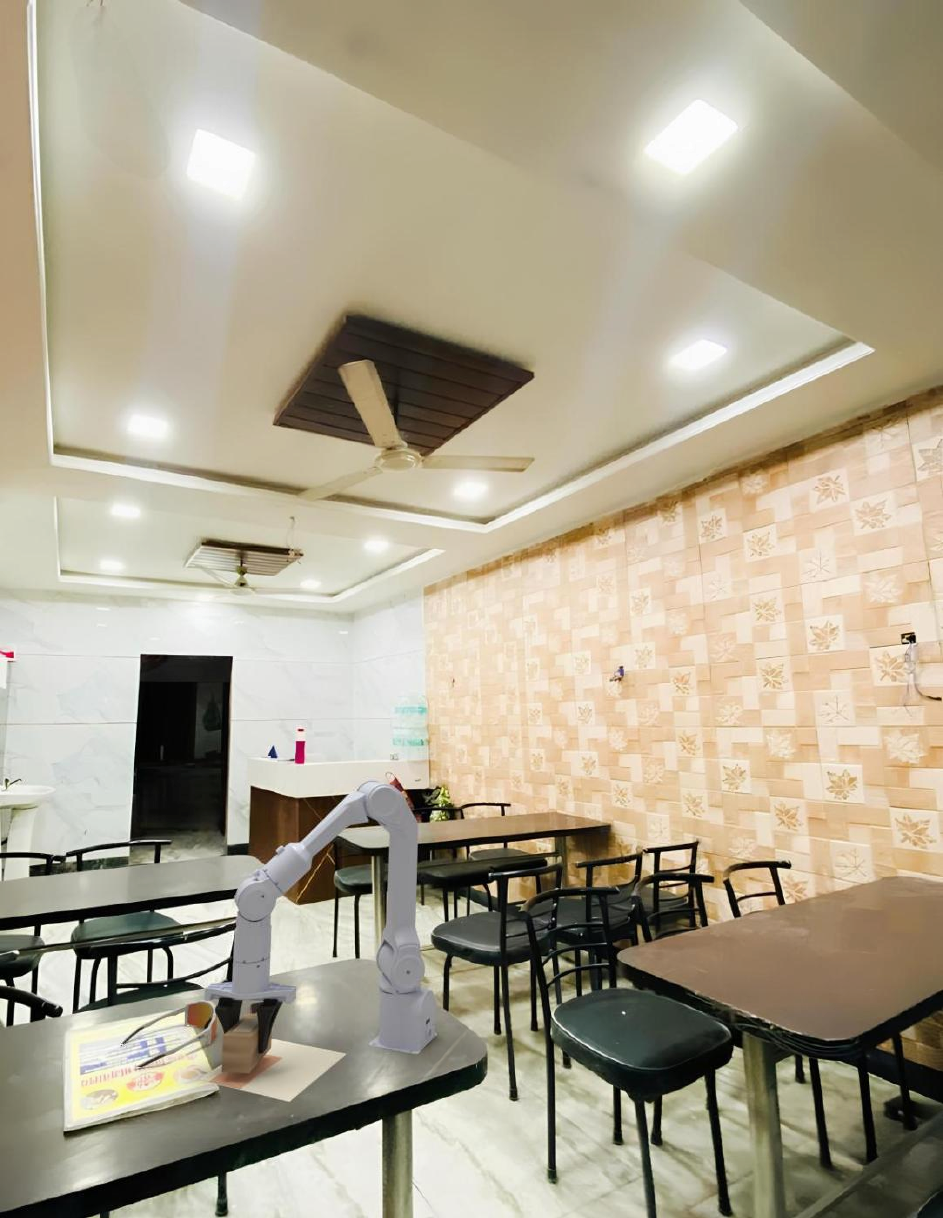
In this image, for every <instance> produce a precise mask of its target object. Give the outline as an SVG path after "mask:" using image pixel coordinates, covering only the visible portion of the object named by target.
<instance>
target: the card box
mask: <svg viewBox="0 0 943 1218" xmlns="http://www.w3.org/2000/svg"><path fill="white" fill-rule="evenodd" d="M258 1035H259V1028H258V1017H257V1013H255V1014H251V1013H245V1014H244V1015H242V1017H241V1018H240V1019H239V1021H238V1022H237V1023H236V1024H235V1025H234V1026H233V1027H232V1028H231V1029H230V1030H229V1031H228V1032H227V1033H226V1034H224V1033H223V1036H222V1047H221V1048H222V1051H221V1053H222V1054H221V1064H222V1067H221V1072H235V1073H250V1072H251V1071H252V1070H253V1069H254V1067H255V1066H256V1065H257V1064H258V1063H259V1062H260V1060H261V1059H262V1058H263V1057H264V1056H265V1055H266V1053H267V1052H268V1051H269V1050H270V1049H271V1040H272V1039H273V1038H272V1035H273V1029H272V1030H271V1034H270V1038H269V1042H268V1048H267V1049H266V1050H265V1051H264V1053H262V1054H259V1053H258Z"/></svg>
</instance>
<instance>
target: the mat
mask: <svg viewBox="0 0 943 1218" xmlns="http://www.w3.org/2000/svg"><path fill="white" fill-rule="evenodd" d="M346 1055H347V1053H345V1052H339V1051H335V1050H331V1049H325V1048H320V1047H315V1046H311V1045H305V1044H300V1043H296V1042H292V1041H286V1040H281V1039H276V1038H272V1040H271V1049H270V1050H269V1051H268V1052H267V1053H266V1055H265V1056H264V1057H263V1058H262V1059H261V1060H260V1062H259V1063H258V1064H257V1065H256V1066H255V1067H254V1069H253V1070H252V1071H251V1072H250V1073H235V1072H221V1067H222V1063H221V1064H220V1065H219V1066H217V1067H215V1068H214V1069H212V1070H210V1071H208V1072H207V1073H206V1074H205V1075H203V1076H202V1077H200V1078H198V1079H197V1080H198V1081H202V1082H204V1083H205V1082H206V1083H210V1084H215V1085H217V1086H218V1085H219V1086H222V1087H227V1088H230V1089H235V1090H238V1091H243V1092H247V1093H252V1094H255V1095H259V1096H263V1097H267V1098H272V1099H276V1100H279V1101H280V1100H281V1101H284V1102H286V1103H287V1102H288V1103H290V1102H291V1101H292V1100H294V1099H295V1098H296V1097H297V1096H298V1095H300V1094H301V1093H302V1092H303V1091H304V1090H306V1089H307V1088H308V1087H309V1086H311V1085H312V1084H313V1083H314V1082H315V1081H317V1080H318V1079H319V1078H320V1077H321V1076H322V1075H324V1074H325V1073H326V1072H327V1071H328V1070H330V1069H331V1068H332V1067H333V1066H335V1065H336V1064H337V1063H338V1062H339V1061H340V1060H342V1058H344V1057H345V1056H346Z"/></svg>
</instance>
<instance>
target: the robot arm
mask: <svg viewBox="0 0 943 1218" xmlns="http://www.w3.org/2000/svg"><path fill="white" fill-rule="evenodd" d="M368 817H369V818H370V819H372V820H374V821H376V822H377V823H378V824H379V825H380V826H381V827H382V828H383V829H384V830H385V831H386V832H387V833H388V834H389V844H388V865H387V866H388V868H387V869H388V870H387V871H388V872H387V898H386V901H387V902H386V922H385V923H386V924H385V927H384V929H383V930H382V933H381V942H380V945H379V947H378V949H377V952H376V955H375V960H376V961H375V962H376V967H377V968H378V969H379V972H380V973H381V978H380V979H379V985H378V986H379V988H378V1035H377V1036H375V1038H374V1039H372V1040H371V1041H370V1042H369V1043H368V1046H372V1047H378V1048H382V1049H386V1050H393V1051H397V1052H403V1053H408V1054H413V1055H417V1054H418V1055H419V1053H420V1052H422V1051H423V1049H424V1048H425V1047H427V1045H428V1044H429V1043H430V1042H431V1041H432V1040H433V1039H435V1037H436V1036H437V1035H438V1034H437V1032H436V997H435V993H434V991H433V990H431V989H428V988H426V987H424V986H423V985H422V984H421V982H422V981H423V979H424V977H425V972H426V965H425V961H424V959H423V957H422V954H421V942H420V939H419V935H418V932H417V928H416V917H417V916H416V915H417V914H416V912H417V909H416V908H417V907H416V905H417V883H418V882H417V878H418V877H417V875H418V873H417V872H418V847H419V846H418V845H419V844H418V843H419V838H418V837H419V825H418V821H417V819H416V817H415V815H414V813H413V811H412V809H411V808H410V805H409V804H408V803H407V799H406V795H405V794H404V793H402V792H401V791H400V790H399V789H398V788H397V787H395V786H393V785H392V784H389V783H384V782H383V783H382V782H380V781H378V780H367V781H365V782H362V783H361V784H360V785H359V786H358V787H357V789H356V790H353V791H351V792H349V793H348V794H347V795H346V796H345V797H344V798H343V799H342V800H341V802H339V804H337V805H336V807H334V808H333V809H332V810H331V811H330V812H329V813H328V814H327V815H326V817H325V818H324V819H322V820H321V821H320V823H318V824H317V825H316V827H315V828H313V829H312V830H311V831H310V833H308V834H307V835H306V836H305V837H304V838H303V839H302V840H301V841H299V842H289V843H288V844H286V845H285V846H283V845H279V847H278V848H277V849H275V852H276V853H277V854H276V855H274V856H273V857H272V858H271V859H270V860H269V861H268V862H266V863H265V865H264V866H262V867H261V868H260V869H259V868H256V869H255V870H254V871H253V872H252V874H253V877H251V878H250V877H248V878H246V879H245V880H244V881H242V882H241V883H240V884H239V886H238V887H237V890H236V892H235V895H234V897H233V898H234V903H235V905H236V907H237V909H238V910H237V913H236V915H237V916H236V917H235V925H236V927H235V928H234V938H233V939H234V944H233V962H232V981H229V982H220V983H219V982H217V983H216V982H215V983H214V982H212V983H210V984H208V985H207V986H205V988H204V999H203V1000H204V1001H211V1002H212V1000H218V1002H217V1005H215V1006H216V1007H215V1014H216V1015H217V1020H218V1021H219V1022H220V1025H221V1027H222V1031H223V1035H224V1034H226V1033H227V1032H228V1031H229V1030H230V1029H231V1028H232V1027H233V1026H234V1025H235V1024H236V1023H237V1022H238V1021H239V1020H240V1019H241V1018H240V1017H241V1010H242V1005H243V1001H249V1002H251V1001H254V1002H255V1001H256V1002H257V1001H258V1002H263V1004H261V1005H260V1006H259V1007H258V1008H257V1011H256V1012H257V1013H256V1014H257V1017H258V1028H259V1035H258V1053H259V1054H262V1053H264V1051H265V1050H266V1049H267V1048H268V1042H269V1038H270V1034H271V1030H272V1031H273V1026H274V1024H275V1021H276V1018H277V1015H278V1013H279V1011H280V1009H281V1007H282V1005H283V1003H284V1002H285V1004H293V1002H294V1001H295V1000H296V998H297V985H290V984H289V985H288V984H287V985H286V984H283V983H278V982H273V981H270V978H271V977H270V971H271V954H272V953H271V952H272V951H271V949H272V948H271V947H272V927H273V926H272V923H271V922H272V920H271V918H272V913H273V911H274V909H275V907H276V905H277V899H279V898H281V897H283V896H284V894H286V893H287V892H288V891H289V890H290V889H291V888H293V886H294V885H295V884H296V883H297V882H298V881H300V880H301V878H303V876H304V875H306V874H307V873H308V872H309V871H310V870H311V868H312V863H313V862H312V861H313V858H314V856H316V855H317V854H318V853H319V852H320V851H321V850H323V848H325V847H326V846H327V845H328V844H330V842H332V841H333V840H334V839H335V838H336V837H337V836H339V835H340V834H341V833H342V832H343V831H344V830H345V829H346V828H348V827H349V826H351V825H352V826H353V825H359V824H364V823H369V819H368Z"/></svg>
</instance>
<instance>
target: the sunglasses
mask: <svg viewBox="0 0 943 1218" xmlns="http://www.w3.org/2000/svg"><path fill="white" fill-rule="evenodd" d="M216 1006H217V1005H216V1004H215V1003H214V1002H213V1001H212V1000H211V1001H204V999H199V1000H197V1001H196V1000H195V1001H190V1002H188V1003H187V1004H186V1005H183V1006H181V1007H178V1008H175V1009H173V1010H171V1011H168V1012H167V1013H165V1014H163V1015H160V1016H158V1017H156V1018H153V1019H152V1020H150V1021H148V1022H145V1023H143V1024H141V1025H140V1026H138V1027H137V1028H136V1029H134V1030H132V1032H131V1033H130V1034H129V1035H128V1036H127V1037H126V1038H124V1040H123V1041H122V1042H120V1044H124V1043H125V1044H126V1043H128V1042H129V1041H130V1039H132V1038H133V1037H134V1036H135V1035H137V1034H138V1033H139V1032H141V1031H143V1030H145V1029H146V1028H148V1027H151V1026H153V1025H154V1024H156V1023H157V1022H159V1021H161V1020H164V1019H167V1018H169V1017H175V1016H178V1015H180V1014H183V1013H184V1026H185V1025H189V1026H188V1027H193V1028H196V1027H197V1028H202V1029H204V1030H203V1031H201V1032H200V1033H198V1034H197V1035H195V1036H194V1037H192V1038H190V1039H189V1040H186V1041H185V1042H183V1043H181V1044H180V1045H177V1046H176V1047H173V1048H171V1049H169V1050H166V1051H163V1052H161V1053H159V1054H156V1055H155V1056H153V1057H151V1058H149V1059H147V1060H145V1061H143V1062H141V1063H139V1064H138V1065H136V1066H135V1067H143V1066H145V1067H147V1066H148V1065H151V1064H152V1063H154V1062H156V1061H158V1060H160V1059H162V1058H165V1057H167V1056H170V1055H173V1054H175V1053H177V1052H179V1051H180V1050H182V1049H184V1048H185V1047H187V1046H190V1045H191V1044H195V1043H199V1042H200V1041H202V1040H203V1039H204V1038H206V1037H207V1040H206V1046H209V1045H211V1043H212V1042H213V1041H214V1040H215V1037H216V1034H217V1029H218V1017H217V1015H216V1014H215V1007H216ZM125 1044H124V1045H125ZM143 1068H144V1067H143Z"/></svg>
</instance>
